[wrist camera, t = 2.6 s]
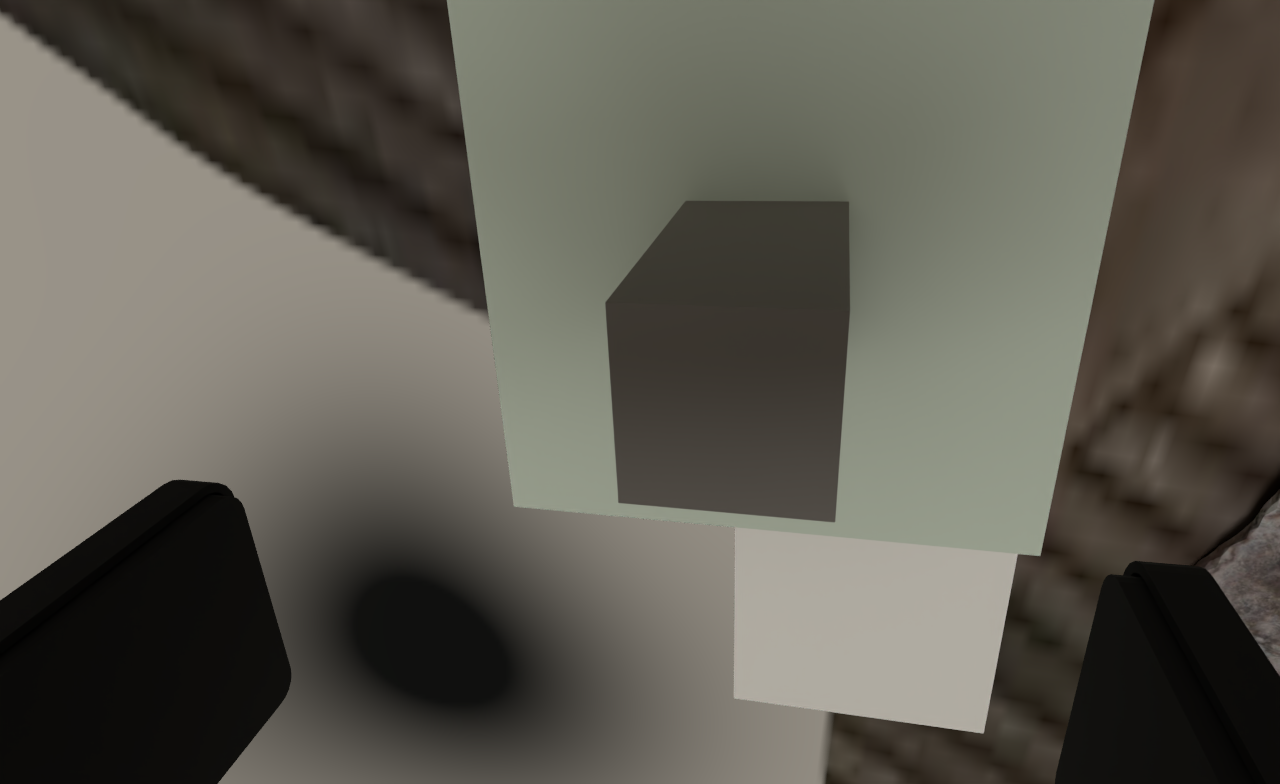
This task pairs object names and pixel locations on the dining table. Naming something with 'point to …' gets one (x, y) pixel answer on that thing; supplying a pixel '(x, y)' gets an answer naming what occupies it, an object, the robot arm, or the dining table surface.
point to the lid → (794, 253)
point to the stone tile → (869, 626)
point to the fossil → (1253, 576)
